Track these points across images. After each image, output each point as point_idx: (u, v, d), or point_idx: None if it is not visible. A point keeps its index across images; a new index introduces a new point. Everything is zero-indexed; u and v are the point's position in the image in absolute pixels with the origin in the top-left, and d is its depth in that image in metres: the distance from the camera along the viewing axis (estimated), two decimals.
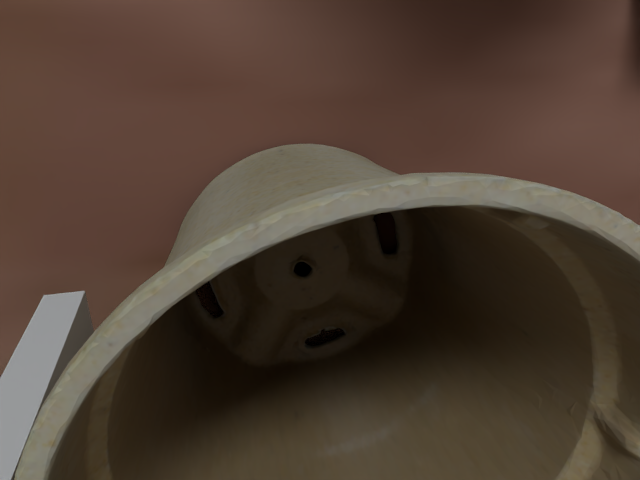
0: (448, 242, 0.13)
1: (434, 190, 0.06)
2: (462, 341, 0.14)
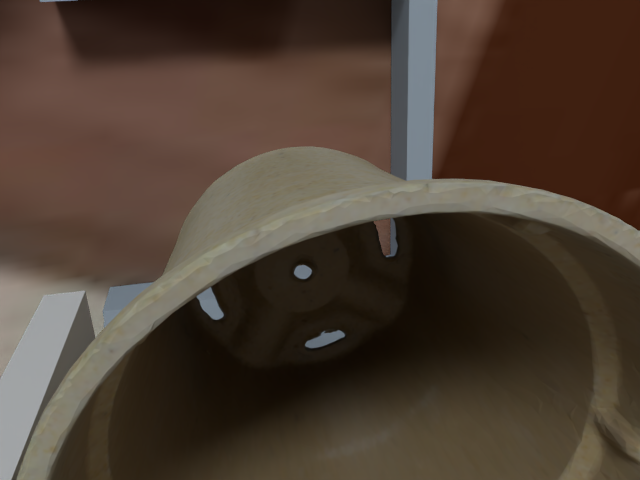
0: (448, 245, 0.13)
1: (435, 197, 0.06)
2: (462, 344, 0.14)
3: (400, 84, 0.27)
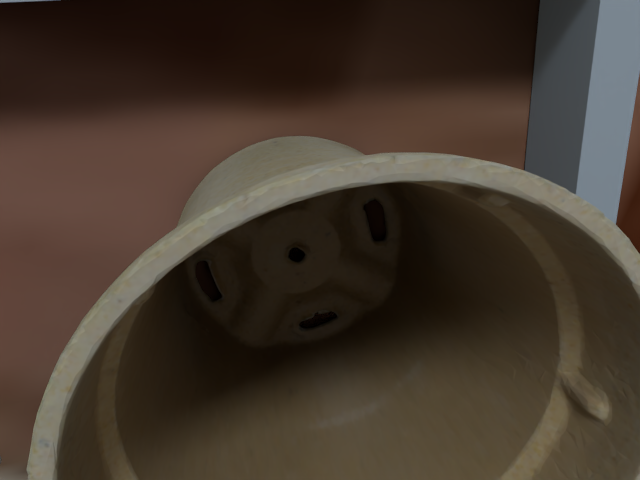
0: (432, 227, 0.14)
1: (400, 167, 0.07)
2: (446, 322, 0.15)
3: (554, 152, 0.15)
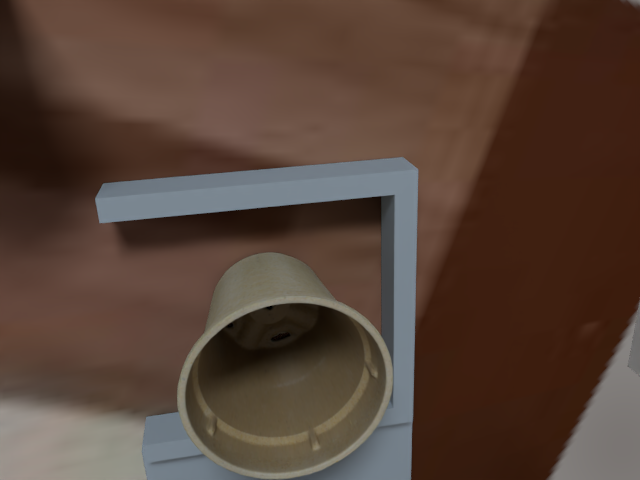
0: None
1: (287, 299, 0.24)
2: (335, 338, 0.32)
3: (388, 259, 0.33)
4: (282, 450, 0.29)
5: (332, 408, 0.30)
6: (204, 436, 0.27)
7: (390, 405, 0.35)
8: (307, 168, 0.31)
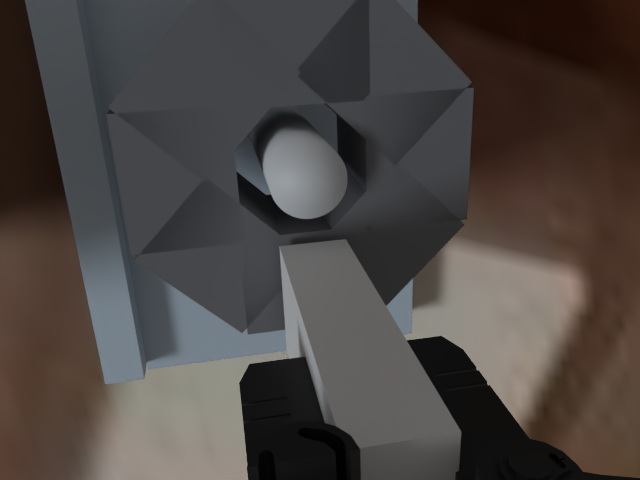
0: None
1: None
2: None
3: None
4: None
5: None
6: None
7: None
8: None
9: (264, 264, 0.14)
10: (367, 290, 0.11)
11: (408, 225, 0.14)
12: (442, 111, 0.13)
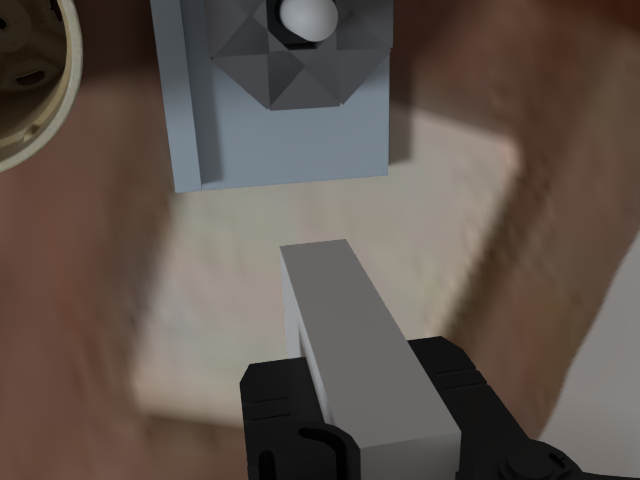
0: None
1: None
2: None
3: None
4: None
5: None
6: (24, 147, 0.21)
7: None
8: None
9: (280, 68, 0.25)
10: (367, 290, 0.11)
11: (359, 49, 0.25)
12: None
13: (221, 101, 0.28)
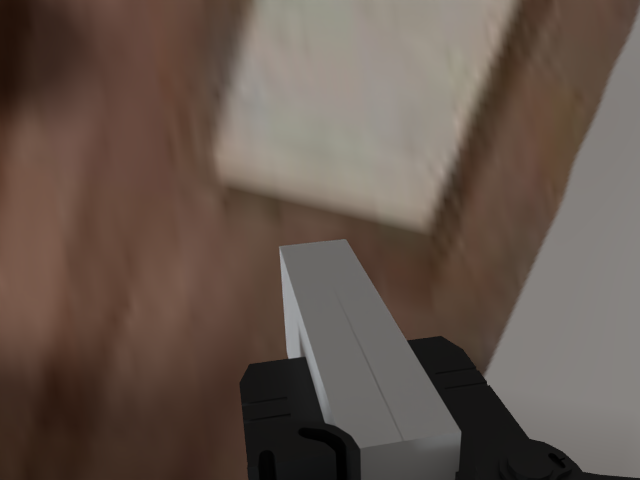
0: None
1: None
2: None
3: None
4: None
5: None
6: None
7: None
8: None
9: None
10: (367, 290, 0.11)
11: None
12: None
13: None
